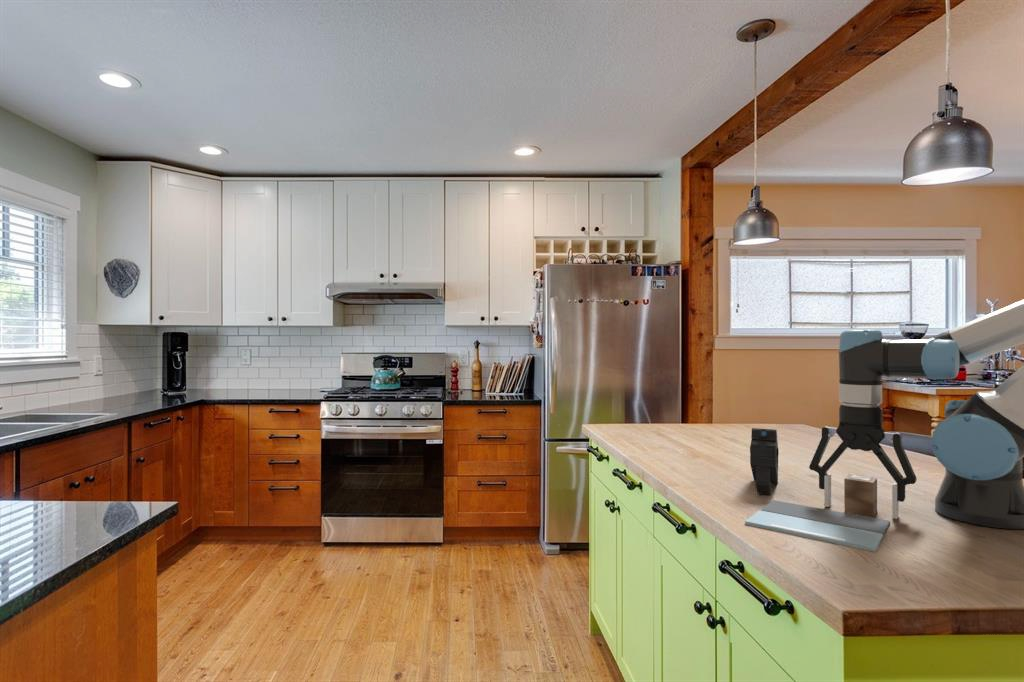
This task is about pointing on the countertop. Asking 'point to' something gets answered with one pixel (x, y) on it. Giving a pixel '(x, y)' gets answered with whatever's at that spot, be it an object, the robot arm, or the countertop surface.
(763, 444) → the tool
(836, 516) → the mat
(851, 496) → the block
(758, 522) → the mat
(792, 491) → the countertop surface
